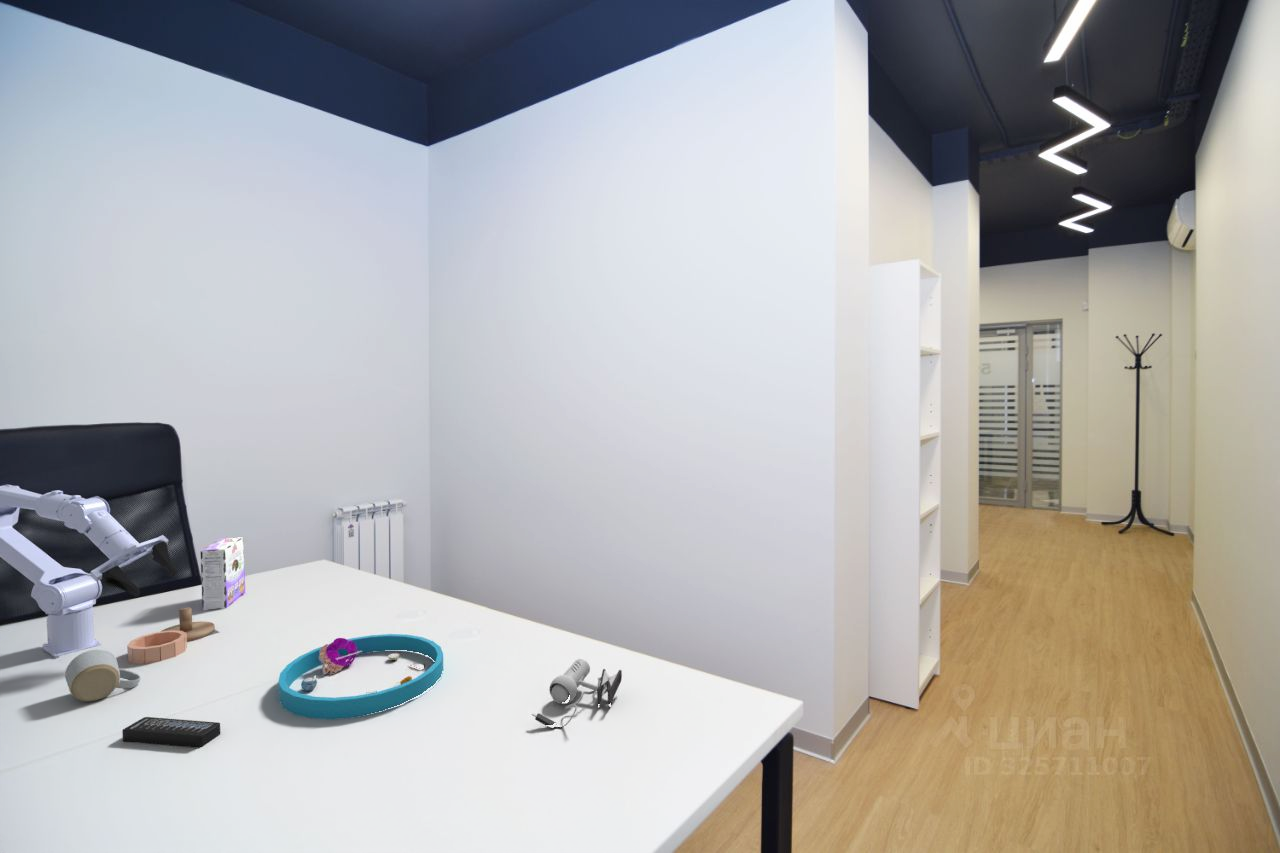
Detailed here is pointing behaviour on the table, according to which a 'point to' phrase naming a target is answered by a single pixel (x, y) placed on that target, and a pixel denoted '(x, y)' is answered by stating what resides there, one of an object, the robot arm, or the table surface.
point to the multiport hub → (171, 732)
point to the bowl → (157, 646)
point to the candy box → (222, 573)
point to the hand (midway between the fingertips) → (157, 583)
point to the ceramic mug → (97, 676)
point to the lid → (192, 626)
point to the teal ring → (349, 649)
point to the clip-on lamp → (575, 678)
